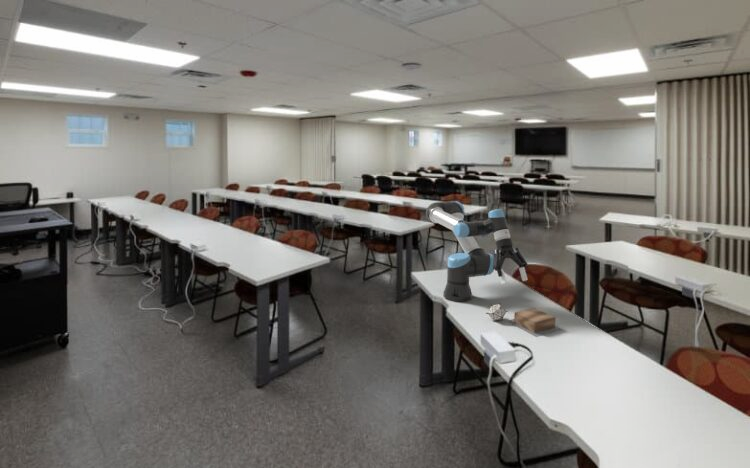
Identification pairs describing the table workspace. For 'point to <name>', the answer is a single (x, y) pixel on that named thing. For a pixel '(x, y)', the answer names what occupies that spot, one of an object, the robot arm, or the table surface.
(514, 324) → the build mat
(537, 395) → the table surface
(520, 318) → the base block
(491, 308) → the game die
